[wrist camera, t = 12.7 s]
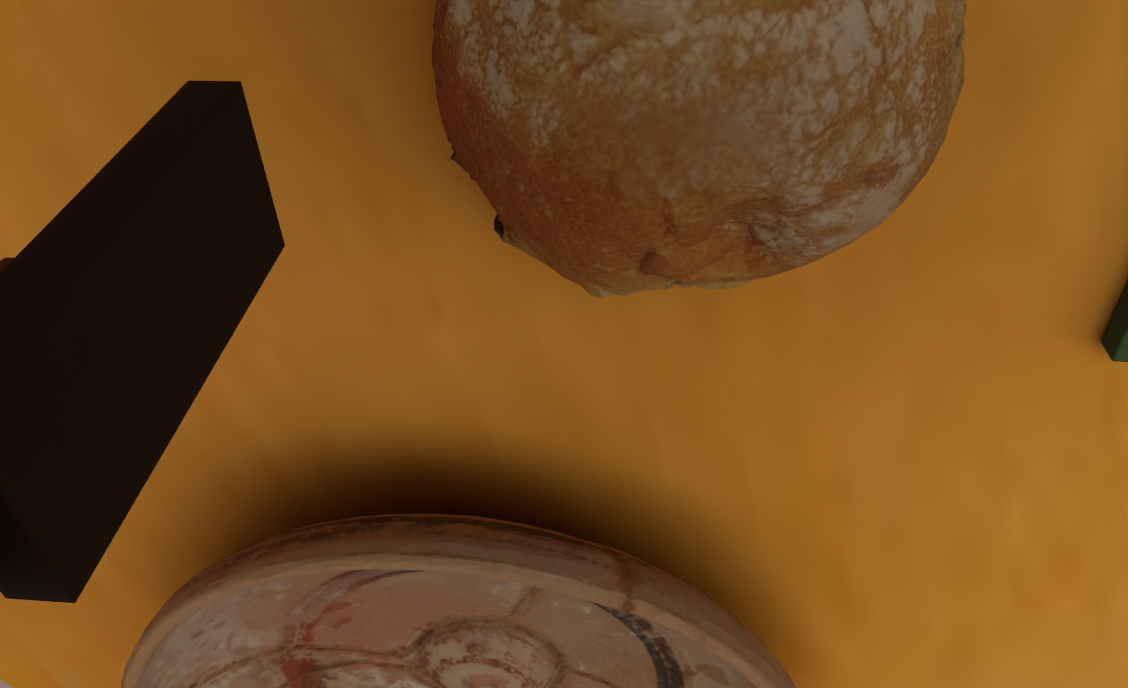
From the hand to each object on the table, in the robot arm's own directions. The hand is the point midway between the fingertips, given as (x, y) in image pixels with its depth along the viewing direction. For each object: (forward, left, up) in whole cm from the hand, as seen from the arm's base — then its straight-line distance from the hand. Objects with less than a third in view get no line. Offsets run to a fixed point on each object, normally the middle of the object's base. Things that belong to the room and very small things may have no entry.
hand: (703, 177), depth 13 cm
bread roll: (+1, 0, -8) cm, 8 cm away
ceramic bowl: (+24, -6, -8) cm, 26 cm away
